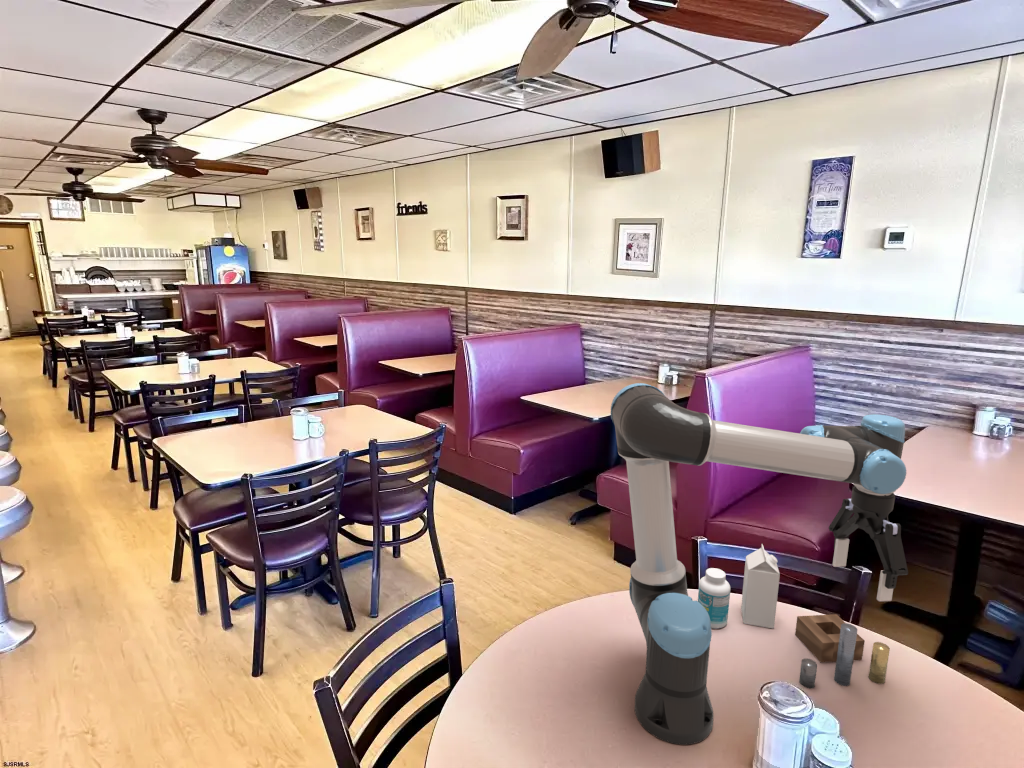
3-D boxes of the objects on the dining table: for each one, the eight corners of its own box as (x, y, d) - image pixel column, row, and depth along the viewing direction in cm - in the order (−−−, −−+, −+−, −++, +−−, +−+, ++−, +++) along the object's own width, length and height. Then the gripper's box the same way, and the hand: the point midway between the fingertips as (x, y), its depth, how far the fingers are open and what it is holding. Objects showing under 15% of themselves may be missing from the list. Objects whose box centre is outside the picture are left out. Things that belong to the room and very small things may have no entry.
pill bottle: (691, 612, 147) (695, 565, 144) (719, 611, 147) (723, 564, 145) (703, 630, 140) (707, 581, 137) (732, 629, 140) (736, 580, 137)
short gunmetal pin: (804, 688, 120) (806, 668, 119) (796, 678, 123) (798, 658, 122) (817, 688, 121) (820, 667, 120) (809, 678, 124) (811, 657, 123)
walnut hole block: (820, 662, 128) (822, 642, 127) (795, 634, 138) (797, 616, 137) (861, 660, 129) (864, 640, 128) (833, 632, 139) (836, 614, 138)
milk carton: (743, 624, 142) (750, 554, 138) (740, 608, 149) (747, 541, 145) (774, 629, 140) (781, 559, 136) (770, 613, 147) (777, 545, 143)
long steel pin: (839, 686, 121) (847, 632, 118) (830, 676, 124) (837, 623, 121) (853, 685, 121) (860, 631, 119) (843, 675, 124) (851, 622, 122)
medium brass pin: (875, 684, 122) (879, 651, 120) (865, 674, 125) (870, 642, 123) (888, 683, 122) (893, 650, 120) (878, 673, 125) (882, 641, 123)
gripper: (941, 514, 106) (923, 615, 110) (849, 467, 130) (837, 552, 134) (904, 515, 105) (888, 617, 109) (818, 468, 129) (808, 554, 133)
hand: (860, 582), depth 122 cm, fingers open, 13 cm apart
